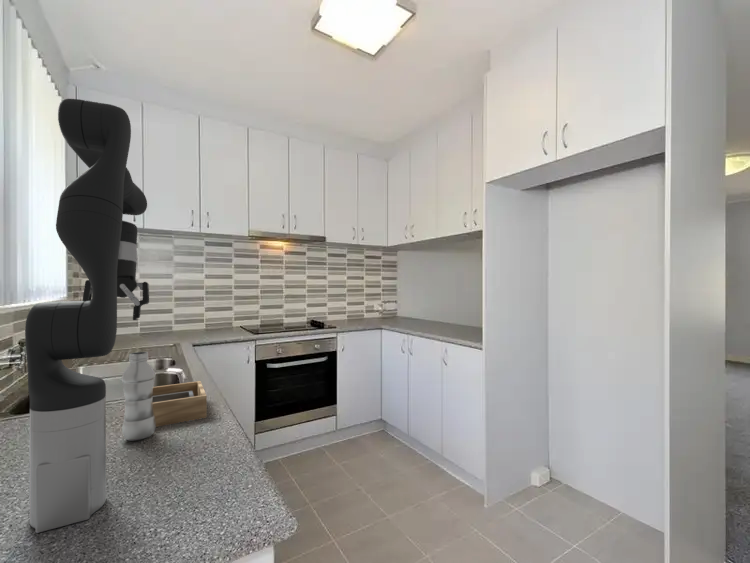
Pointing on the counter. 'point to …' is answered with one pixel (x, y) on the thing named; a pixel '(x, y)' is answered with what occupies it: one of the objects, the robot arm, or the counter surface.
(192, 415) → the walled box
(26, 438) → the counter surface
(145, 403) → the plastic bottle
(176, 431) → the counter surface
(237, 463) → the counter surface
